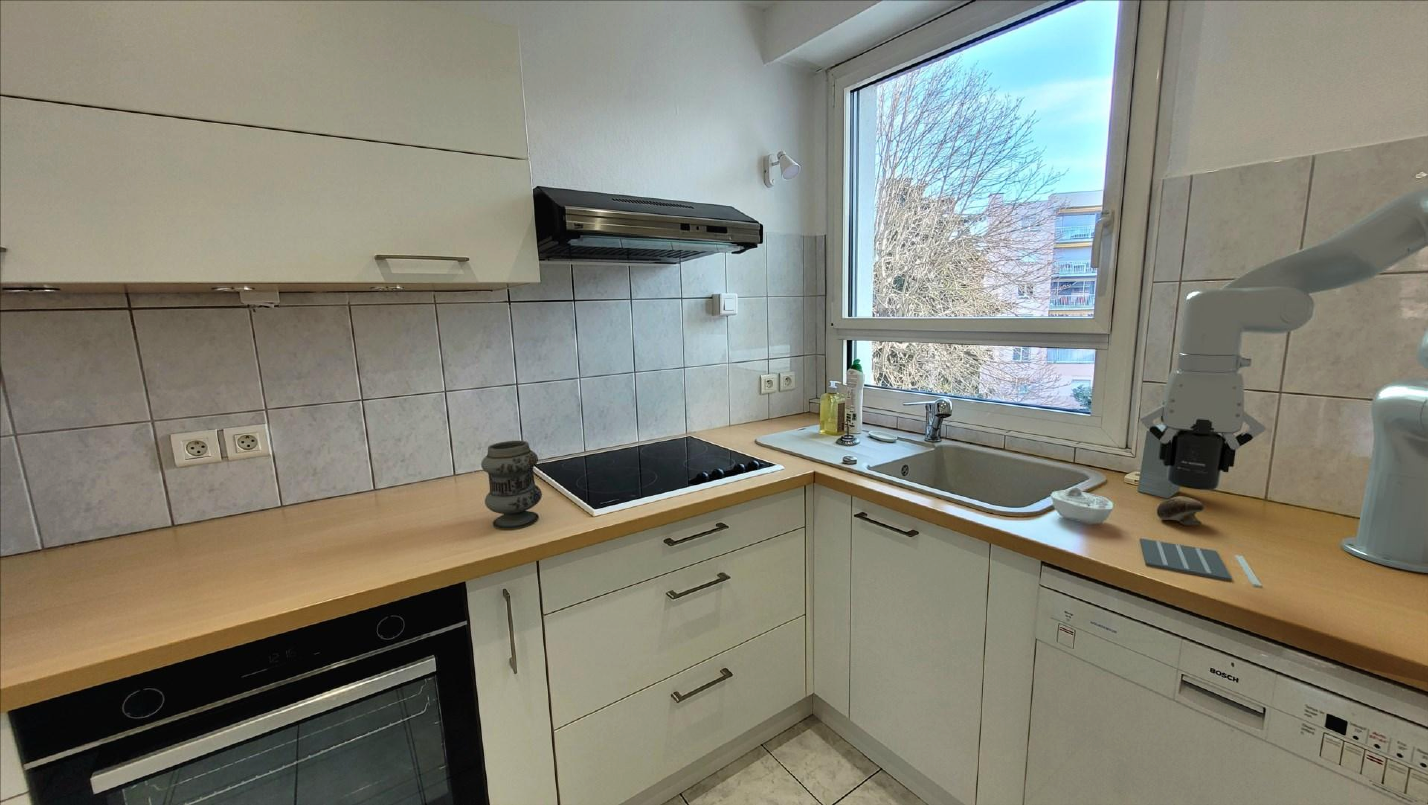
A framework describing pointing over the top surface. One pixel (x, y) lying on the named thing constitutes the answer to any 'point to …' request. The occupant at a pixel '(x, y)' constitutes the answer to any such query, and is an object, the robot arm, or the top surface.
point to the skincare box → (1154, 470)
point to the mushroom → (1180, 510)
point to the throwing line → (1248, 571)
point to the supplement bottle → (1196, 457)
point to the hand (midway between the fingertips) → (1194, 466)
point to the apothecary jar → (511, 484)
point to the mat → (1184, 559)
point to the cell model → (1081, 506)
